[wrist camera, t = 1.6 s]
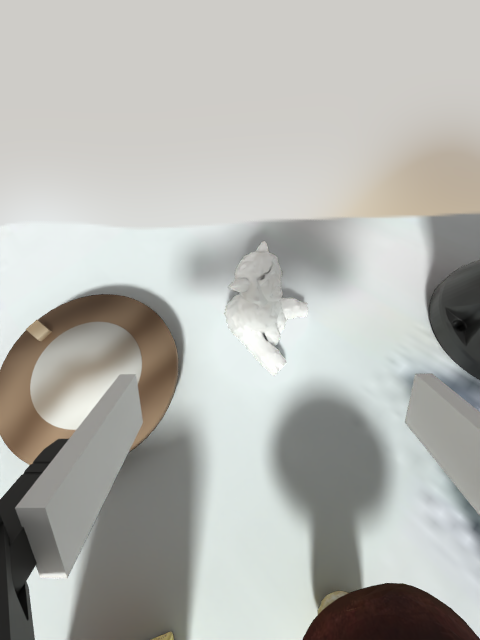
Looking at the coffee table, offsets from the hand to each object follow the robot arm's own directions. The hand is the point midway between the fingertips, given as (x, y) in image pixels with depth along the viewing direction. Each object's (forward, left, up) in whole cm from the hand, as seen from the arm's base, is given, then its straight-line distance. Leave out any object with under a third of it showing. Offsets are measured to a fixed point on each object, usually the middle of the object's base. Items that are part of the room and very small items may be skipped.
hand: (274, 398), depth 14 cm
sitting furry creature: (+6, -9, -17) cm, 20 cm away
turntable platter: (+17, +6, -15) cm, 24 cm away
